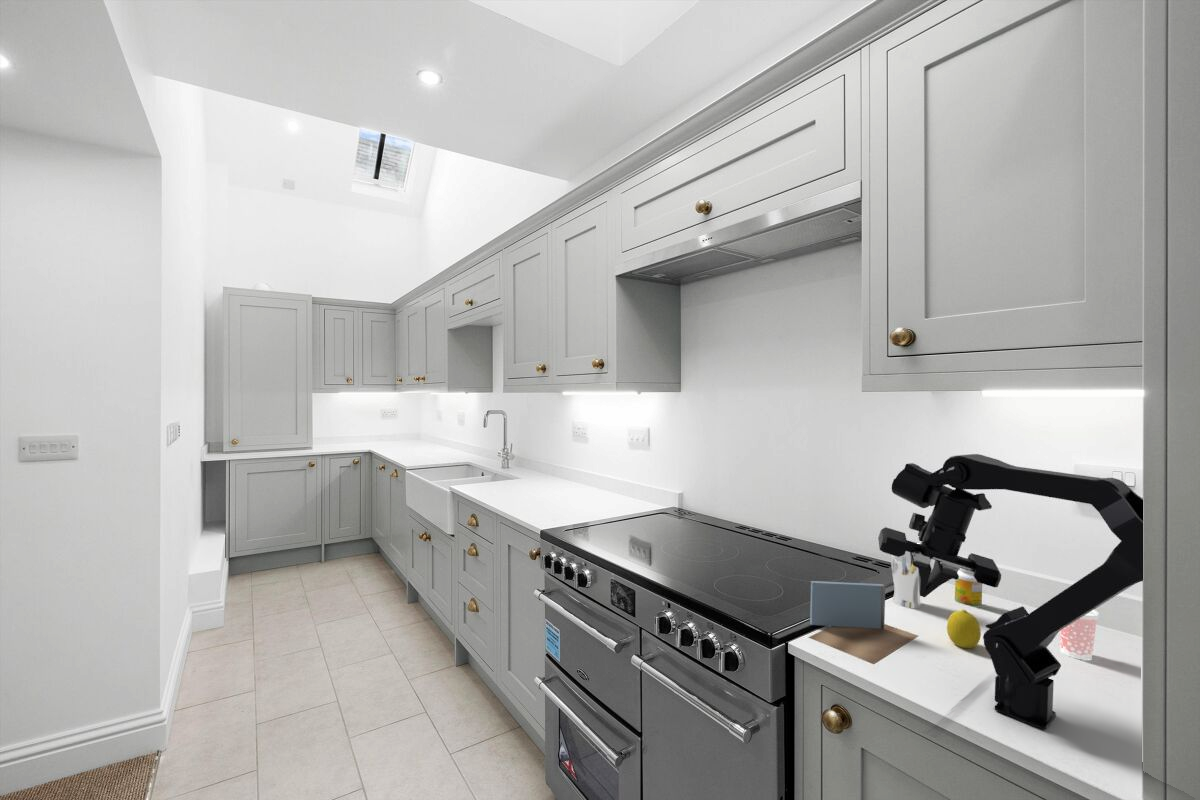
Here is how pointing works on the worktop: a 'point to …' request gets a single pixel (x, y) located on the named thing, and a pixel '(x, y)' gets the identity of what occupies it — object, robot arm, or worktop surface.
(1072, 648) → the beverage cup
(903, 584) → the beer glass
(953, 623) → the lemon
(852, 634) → the brown flat rectangle
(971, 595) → the supplement bottle
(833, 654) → the worktop surface
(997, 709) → the robot arm
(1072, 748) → the worktop surface
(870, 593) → the door
